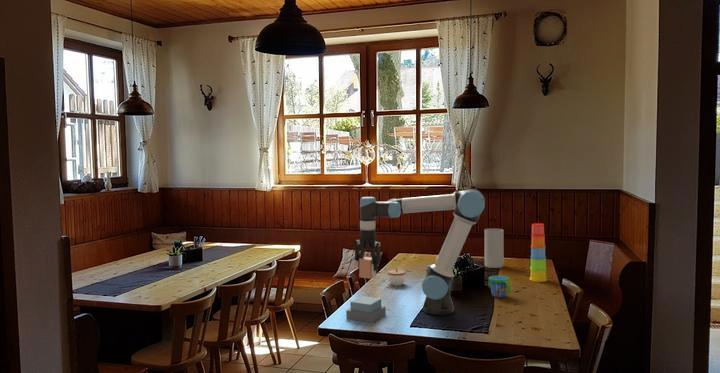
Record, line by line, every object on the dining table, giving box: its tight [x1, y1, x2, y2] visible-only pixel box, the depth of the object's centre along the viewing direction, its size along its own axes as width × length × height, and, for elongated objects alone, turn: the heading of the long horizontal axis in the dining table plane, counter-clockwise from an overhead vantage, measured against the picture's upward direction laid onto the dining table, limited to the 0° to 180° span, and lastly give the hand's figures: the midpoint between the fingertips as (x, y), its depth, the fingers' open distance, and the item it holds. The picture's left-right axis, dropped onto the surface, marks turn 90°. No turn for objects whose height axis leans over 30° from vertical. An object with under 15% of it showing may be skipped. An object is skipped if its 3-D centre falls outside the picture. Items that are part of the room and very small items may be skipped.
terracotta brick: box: [358, 256, 373, 279], centre depth 258 cm, size 6×6×9 cm
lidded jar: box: [387, 268, 407, 287], centre depth 317 cm, size 11×11×9 cm
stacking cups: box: [529, 222, 548, 283], centre depth 321 cm, size 10×10×35 cm
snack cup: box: [487, 275, 511, 298], centre depth 288 cm, size 16×10×10 cm
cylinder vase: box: [484, 228, 505, 269], centre depth 360 cm, size 12×12×25 cm
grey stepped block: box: [345, 295, 386, 324], centre depth 257 cm, size 14×14×8 cm
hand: (367, 276), depth 258 cm, fingers closed on terracotta brick, 6 cm apart
